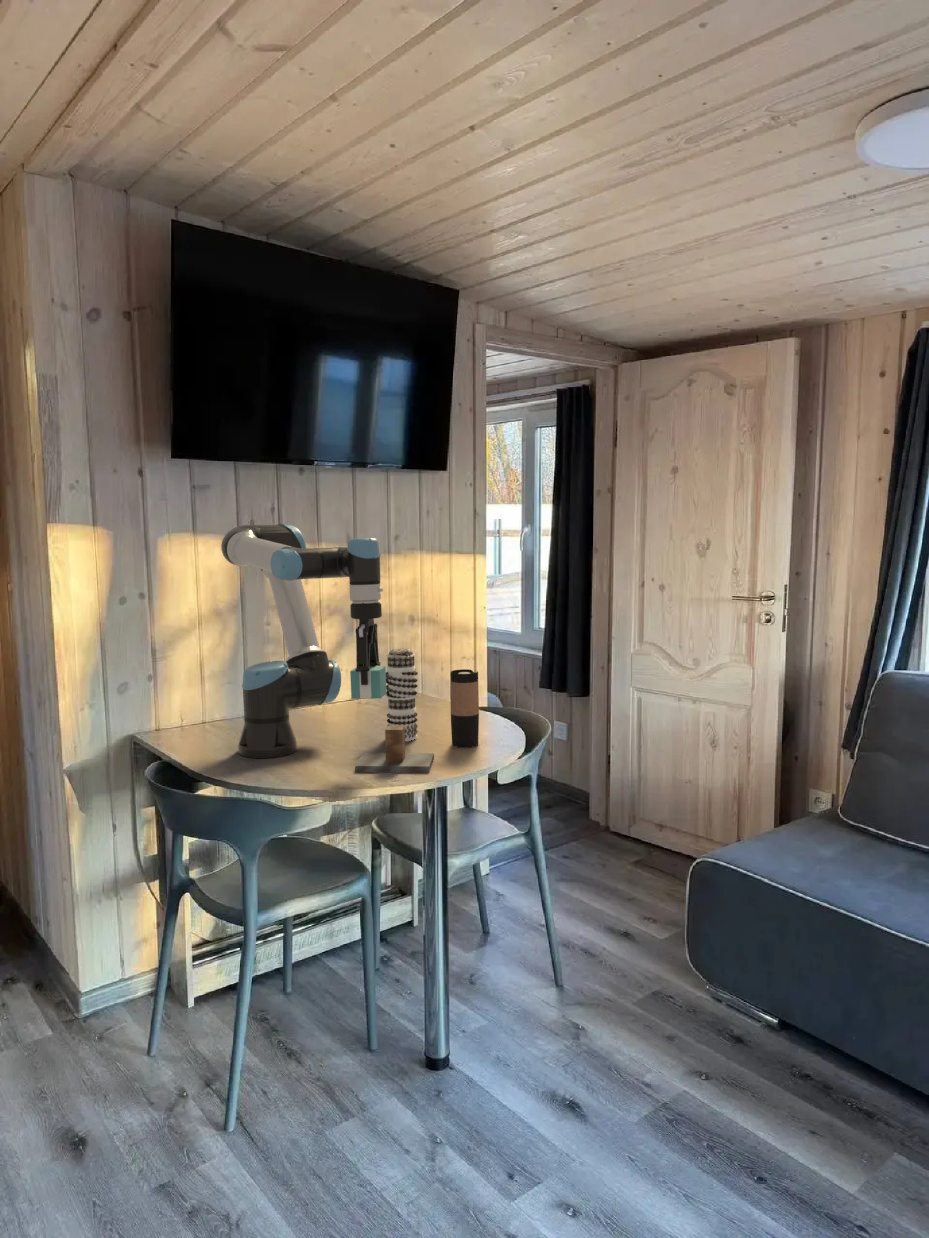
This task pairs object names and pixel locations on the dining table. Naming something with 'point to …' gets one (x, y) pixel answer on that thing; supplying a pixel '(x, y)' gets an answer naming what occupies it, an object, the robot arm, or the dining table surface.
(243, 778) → the dining table surface
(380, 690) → the mint green cube
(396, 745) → the grey base with post
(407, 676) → the decorative candle
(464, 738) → the travel mug
